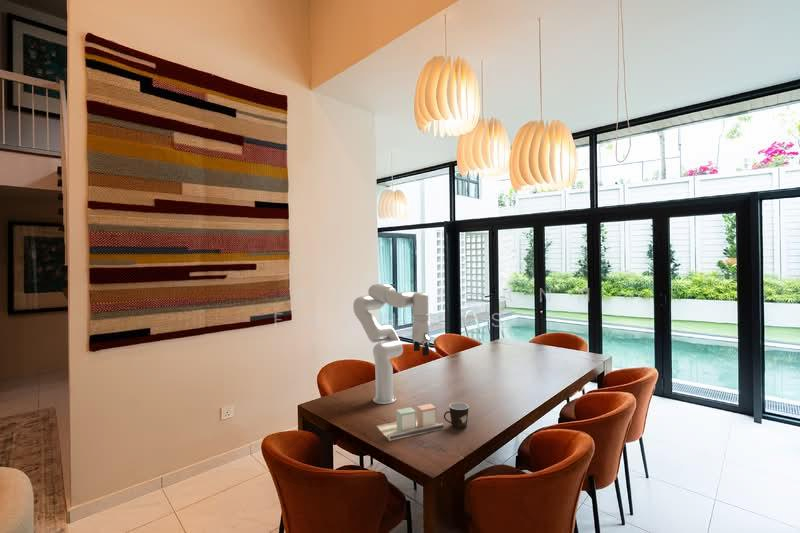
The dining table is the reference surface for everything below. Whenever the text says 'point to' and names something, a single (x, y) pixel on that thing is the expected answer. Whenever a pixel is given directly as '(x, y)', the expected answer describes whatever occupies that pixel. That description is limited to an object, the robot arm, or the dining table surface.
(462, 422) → the coffee mug
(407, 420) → the green tin
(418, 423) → the pink rectangular block
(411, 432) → the shelf board
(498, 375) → the dining table surface
